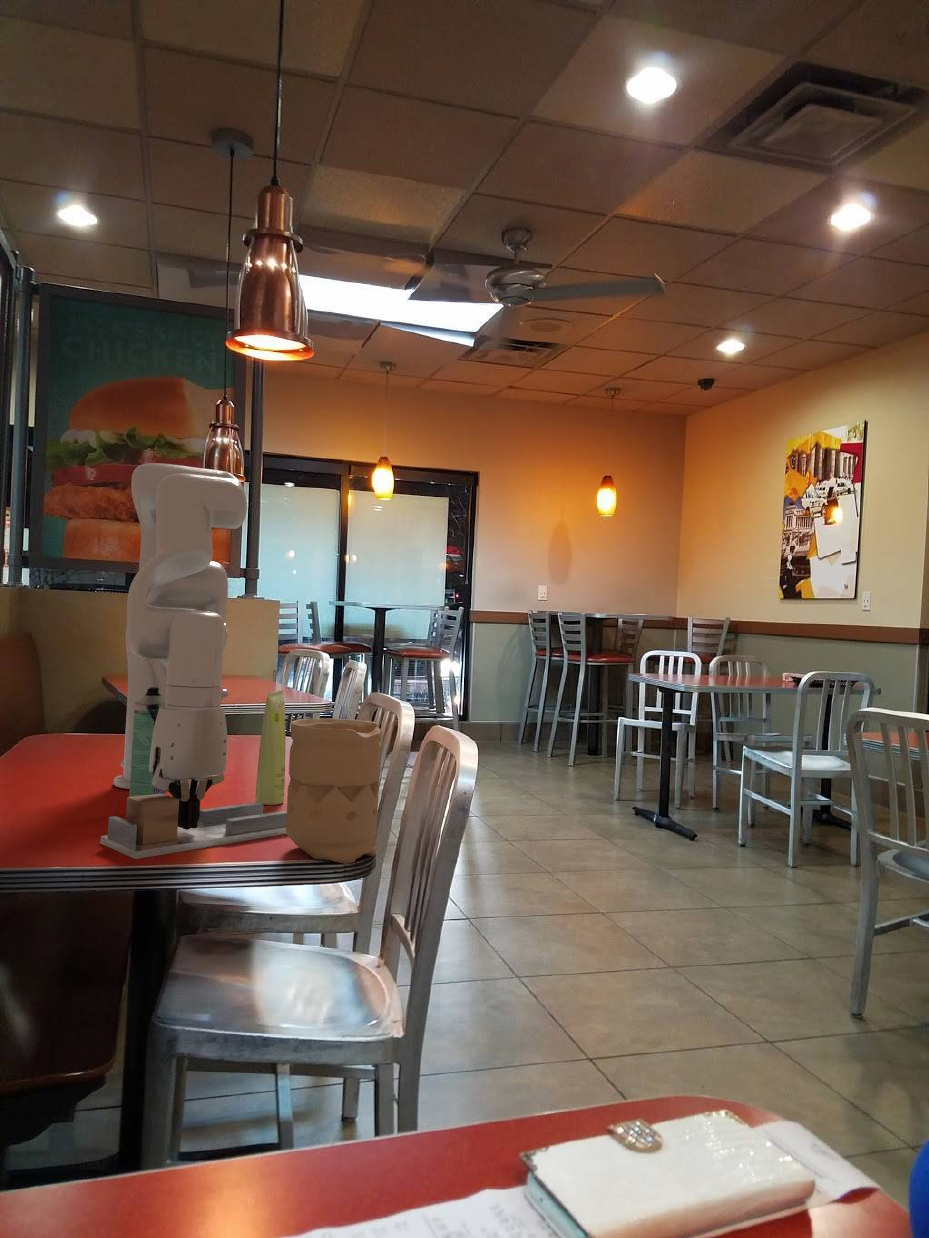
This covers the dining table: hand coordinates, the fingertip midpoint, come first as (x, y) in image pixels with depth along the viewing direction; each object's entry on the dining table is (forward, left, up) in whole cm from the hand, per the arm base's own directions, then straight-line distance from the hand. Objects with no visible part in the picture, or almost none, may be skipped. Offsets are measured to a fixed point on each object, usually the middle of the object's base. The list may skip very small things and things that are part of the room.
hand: (186, 826), depth 125 cm
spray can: (-20, +4, -2) cm, 21 cm away
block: (0, -5, -1) cm, 5 cm away
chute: (0, +2, -2) cm, 3 cm away
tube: (-15, +24, -2) cm, 29 cm away
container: (+17, +12, -2) cm, 21 cm away
